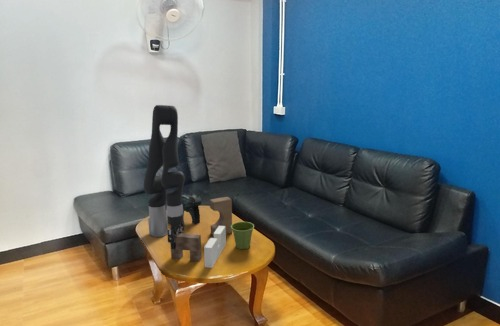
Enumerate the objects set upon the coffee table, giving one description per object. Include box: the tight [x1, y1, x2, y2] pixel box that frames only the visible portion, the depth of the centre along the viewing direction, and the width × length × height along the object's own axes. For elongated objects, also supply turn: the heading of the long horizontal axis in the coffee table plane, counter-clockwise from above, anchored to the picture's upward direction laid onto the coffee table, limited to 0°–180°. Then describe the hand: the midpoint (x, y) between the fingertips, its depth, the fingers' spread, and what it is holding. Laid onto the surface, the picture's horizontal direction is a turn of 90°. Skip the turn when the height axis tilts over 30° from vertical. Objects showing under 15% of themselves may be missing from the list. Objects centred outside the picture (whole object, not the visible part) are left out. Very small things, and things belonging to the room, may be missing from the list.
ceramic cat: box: [182, 189, 202, 225], centre depth 208 cm, size 20×6×20 cm, turn 49°
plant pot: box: [231, 221, 255, 250], centre depth 176 cm, size 12×12×11 cm
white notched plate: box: [203, 226, 227, 269], centre depth 168 cm, size 4×24×10 cm, turn 169°
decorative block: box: [209, 196, 233, 237], centre depth 190 cm, size 11×6×20 cm, turn 116°
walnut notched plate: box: [169, 232, 203, 262], centre depth 164 cm, size 14×4×12 cm, turn 79°
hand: (177, 244), depth 165 cm, fingers open, 8 cm apart
